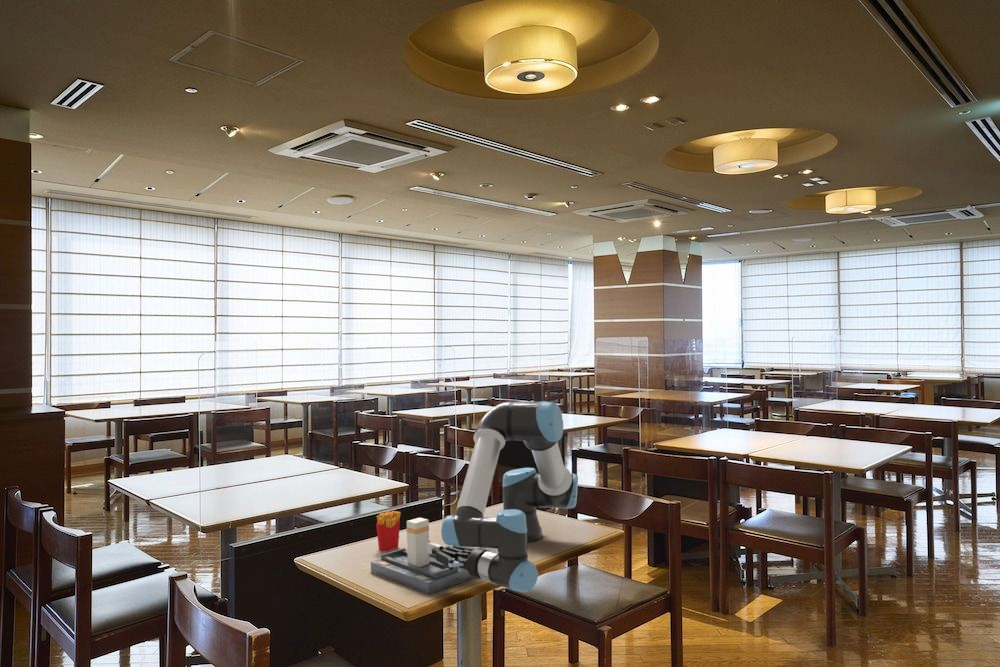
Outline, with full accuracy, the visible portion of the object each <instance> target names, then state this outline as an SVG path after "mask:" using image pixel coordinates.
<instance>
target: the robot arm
mask: <svg viewBox="0 0 1000 667" xmlns="http://www.w3.org/2000/svg"><path fill="white" fill-rule="evenodd" d="M563 434H564V420H563V414H562V410H561V408H560V406H559V405H558V404H557V403H556V402H554V401H545V400H542V401H503V402H500V403H498V404H496V405H495V406H493V407H491V409H489V410H488V411H487V412H486V413H485V414H484V415H483V416H482V418H481V419H480V420H479V421H478V424H477V425H476V428H475V431H474V433H473V441H474V446H473V451H472V453H471V457H470V460H469V464H468V468H467V472H466V475H465V478H464V482H463V485H462V488H461V492H460V495H459V499H458V503H457V505H456V509H455V513H454V514H451V515H447V516H446V515H445V517H444V519H443V521H442V523H441V539H442V541H443V543H444V544H445V545H447V546H445V545H441V544H438V543H435V542H431V541H430V542H429V543H427V553H429V554H433V555H436V560H437V561H438V562H440V563H442V564H443V565H445V566H447V567H448V568H449V570H453V569H454V568H455V566H459V567H460V568H463V569H467V571H468V572H469V574H470V575H471V576H473V578H476V579H479V580H483V581H486V582H489V583H492V584H493V585H498V586H500V587H504V588H507V589H510V590H511V591H515V592H520V593H528V592H530V591H532V590H533V589H534V587H535V586H536V584H537V581H538V578H539V577H538V576H539V573H538V572H539V571H538V569H537V566H536V564H534V563H533V562H532V561H530V560H529V555H528V543H529V542H533V541H534V542H535V541H537V540H539V538H540V539H541V538H542V537H543V529H542V526H541V525H540V521H539V518H538V515H537V513H538V512H537V508H545V509H546V508H548V509H549V508H550V509H564V510H567V509H575V507H576V505H577V500H578V487H579V476H578V474H576V473H571V471H570V470H569V469H568V468H567V467H566V466H565V465H564V461H563V458H562V453H561V450H560V447H559V443H558V441H559V442H560V440H561V439H562V438H563ZM507 441H522V442H523V444H524V445H525V447H526V448H527V449H529V450H530V451H531V453H532V455H533V458H534V462H535V464H536V467H537V470H538V471H537V470H536V468H534V467H522V468H517V469H516V468H514V469H511V470H508V471H506V472H505V473H504V474H503V476H502V486H501V487H502V505H503V506H502V509H501V510H500V511H498V512H497V514H496V517H484V516H485V512H486V508H487V503H488V501H489V500H488V499H489V496H490V492H491V488H492V485H493V484H492V482H493V480H494V476H495V473H496V472H495V471H496V468H497V465H498V461H499V460H498V459H499V456H500V452H501V450H502V449H504V447H505V445H506V442H507ZM528 541H529V542H528ZM463 546H464V547H463ZM469 547H474V548H469ZM479 547H482V548H496V549H498V553H497V552H494V551H489V550H486V549H482V548H479Z"/></svg>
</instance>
